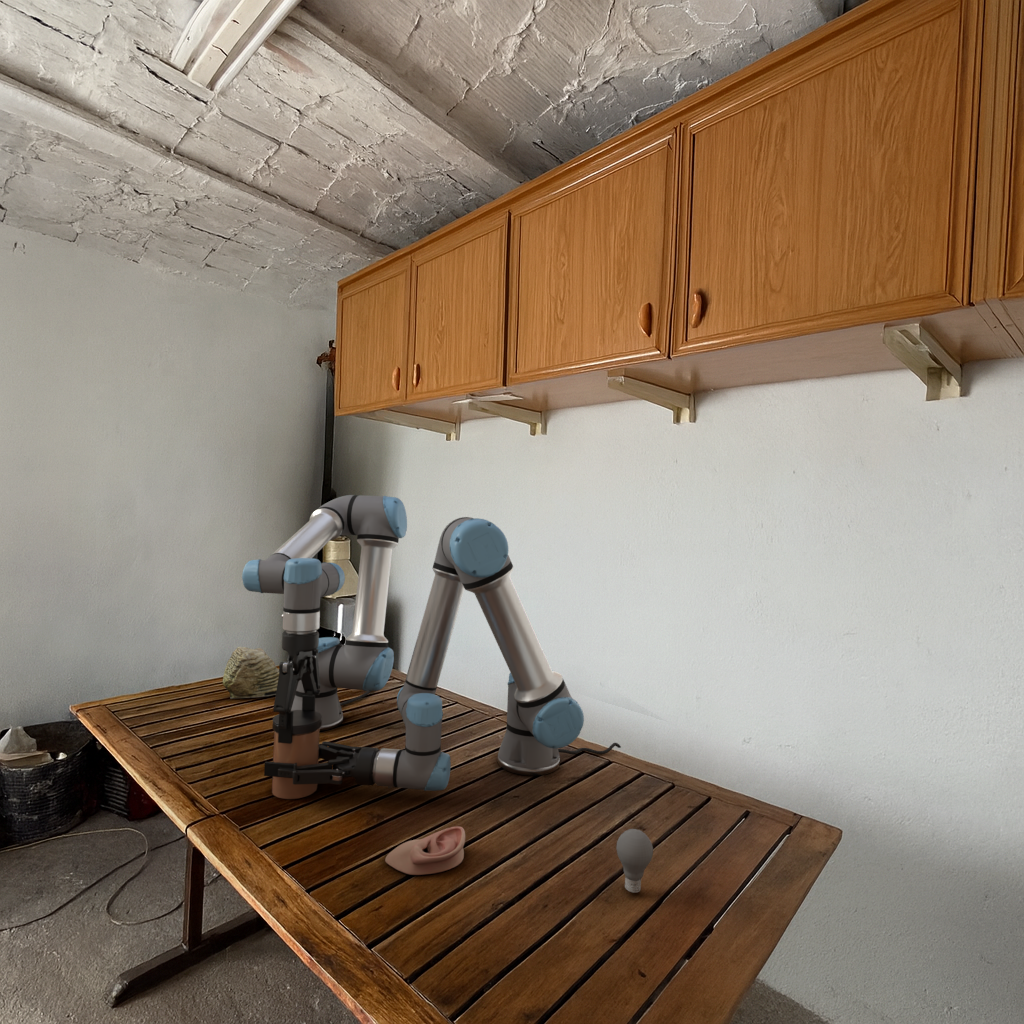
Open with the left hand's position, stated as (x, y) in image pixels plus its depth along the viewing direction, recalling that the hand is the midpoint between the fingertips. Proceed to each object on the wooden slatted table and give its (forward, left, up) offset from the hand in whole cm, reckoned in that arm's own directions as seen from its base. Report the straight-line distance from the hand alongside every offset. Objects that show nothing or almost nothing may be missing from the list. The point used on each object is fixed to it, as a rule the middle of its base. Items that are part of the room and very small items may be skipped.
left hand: (296, 733), depth 137 cm
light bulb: (-18, +72, -12) cm, 75 cm away
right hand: (+3, -4, -6) cm, 7 cm away
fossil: (-27, -65, -12) cm, 71 cm away
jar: (0, 0, -12) cm, 12 cm away
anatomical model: (-1, +40, -12) cm, 42 cm away
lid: (0, 0, +3) cm, 3 cm away
